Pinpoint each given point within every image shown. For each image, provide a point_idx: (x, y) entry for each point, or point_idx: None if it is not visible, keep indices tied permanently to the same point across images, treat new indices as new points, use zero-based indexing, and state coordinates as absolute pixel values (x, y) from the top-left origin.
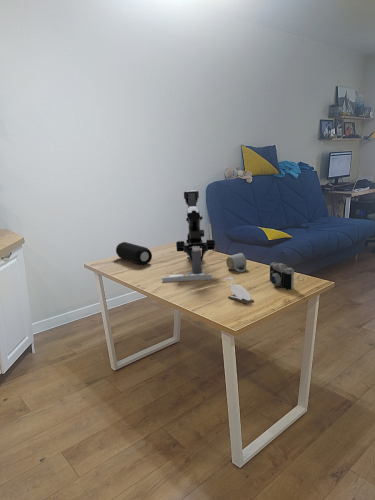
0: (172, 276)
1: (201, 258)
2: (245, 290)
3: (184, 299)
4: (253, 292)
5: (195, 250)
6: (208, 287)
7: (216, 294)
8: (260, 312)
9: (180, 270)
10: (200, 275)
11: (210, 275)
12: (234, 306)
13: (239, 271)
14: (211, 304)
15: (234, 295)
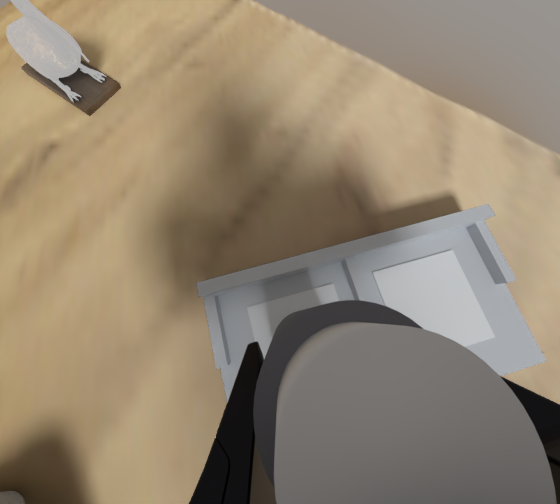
0: (458, 309)
1: (256, 350)
2: (10, 24)
3: (286, 62)
4: (7, 150)
5: (356, 321)
6: (210, 183)
7: (167, 115)
8: None
9: None
10: (265, 269)
11: (201, 282)
12: (102, 34)
13: (7, 491)
14: (181, 38)
15: (89, 94)
